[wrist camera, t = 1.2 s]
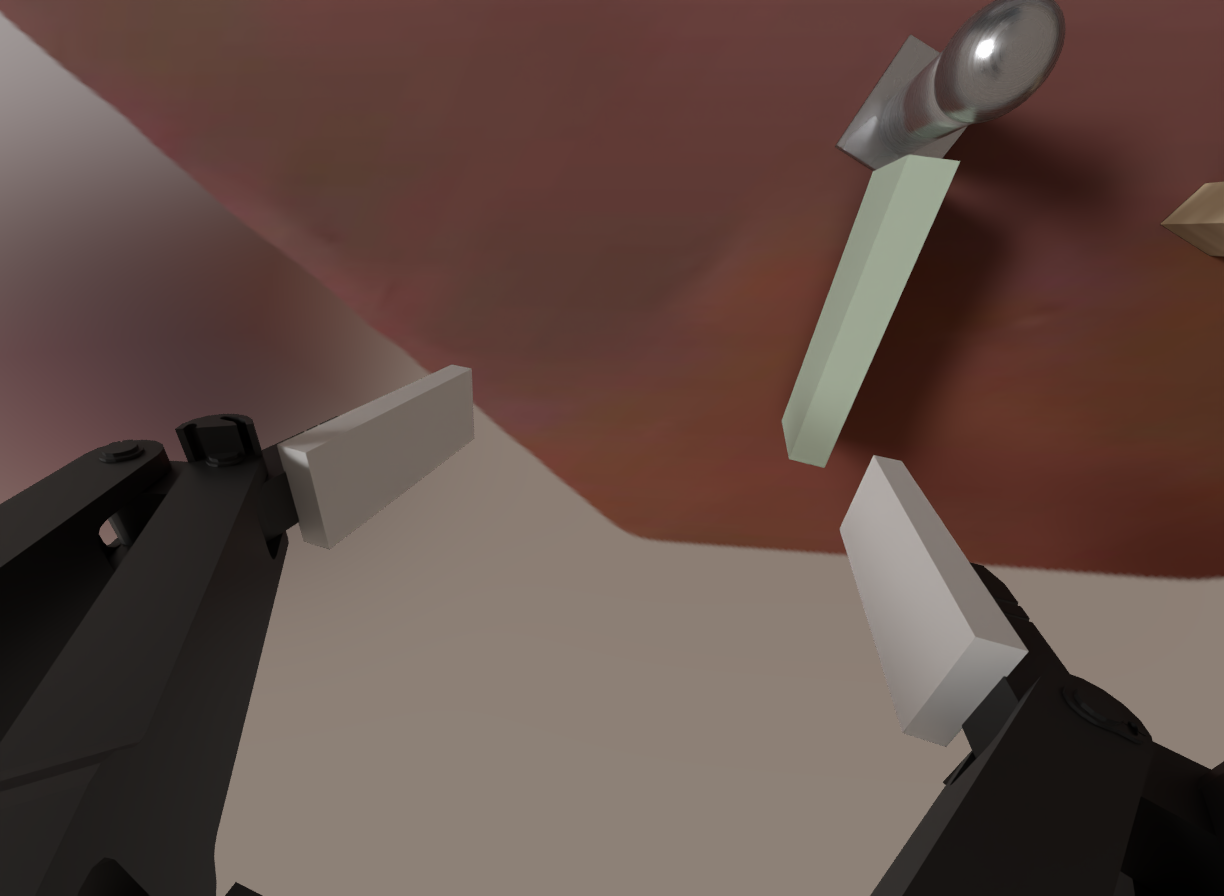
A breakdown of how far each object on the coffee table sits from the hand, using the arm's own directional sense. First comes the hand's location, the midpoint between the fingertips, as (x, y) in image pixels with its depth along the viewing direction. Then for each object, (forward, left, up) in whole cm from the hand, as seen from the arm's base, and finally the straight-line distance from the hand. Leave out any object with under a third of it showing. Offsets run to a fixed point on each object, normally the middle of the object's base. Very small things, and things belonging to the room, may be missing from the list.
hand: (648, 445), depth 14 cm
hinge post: (-15, +3, -19) cm, 24 cm away
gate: (-5, +7, -18) cm, 20 cm away
